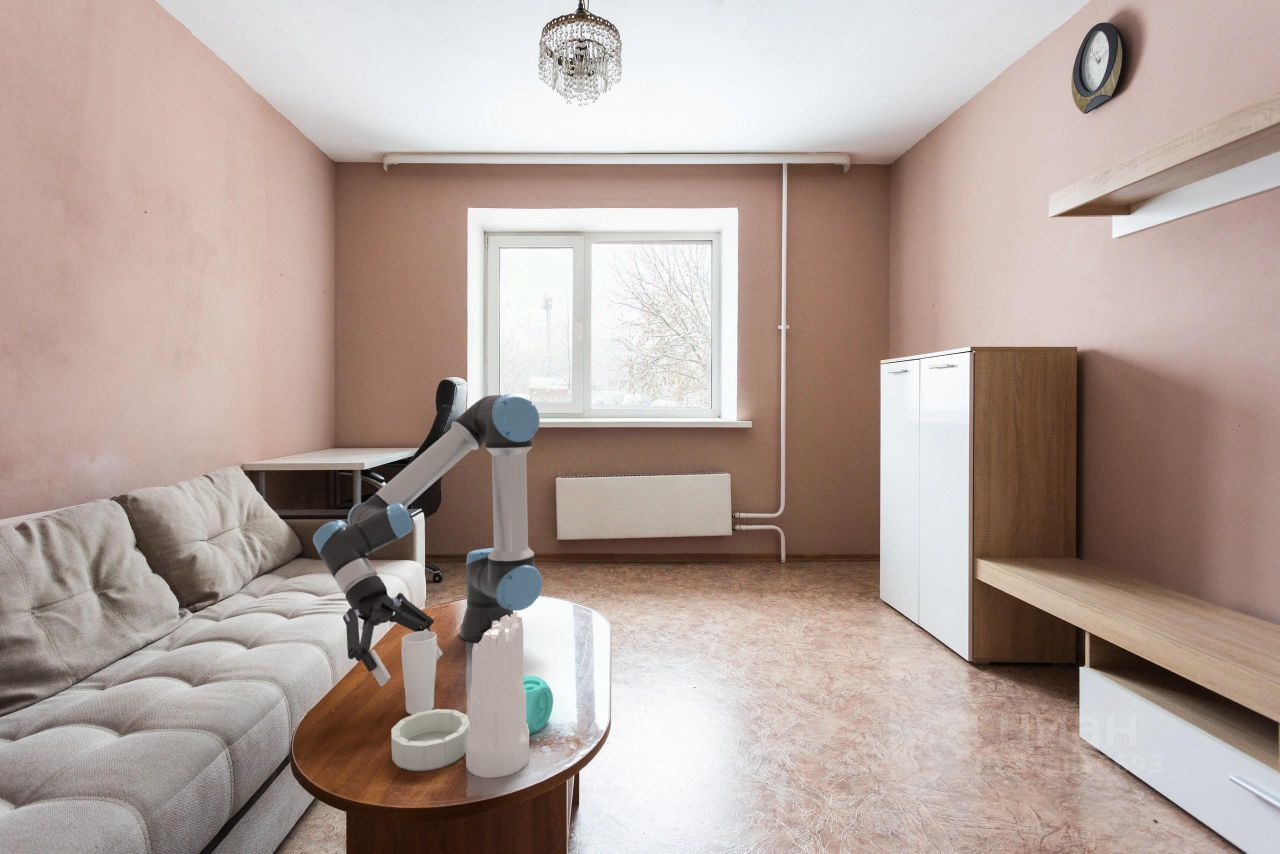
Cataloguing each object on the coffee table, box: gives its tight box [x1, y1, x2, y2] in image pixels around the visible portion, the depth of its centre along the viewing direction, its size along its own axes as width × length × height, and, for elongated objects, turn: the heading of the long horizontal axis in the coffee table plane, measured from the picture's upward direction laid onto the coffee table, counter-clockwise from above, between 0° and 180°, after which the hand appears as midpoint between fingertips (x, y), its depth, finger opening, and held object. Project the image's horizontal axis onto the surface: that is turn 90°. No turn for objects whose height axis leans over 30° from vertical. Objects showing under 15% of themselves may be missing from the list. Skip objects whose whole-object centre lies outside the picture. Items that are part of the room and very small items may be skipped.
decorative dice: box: [523, 675, 554, 735], centre depth 121 cm, size 8×8×8 cm
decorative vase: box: [465, 611, 530, 779], centre depth 109 cm, size 11×11×25 cm
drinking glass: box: [401, 631, 438, 716], centre depth 127 cm, size 7×7×15 cm
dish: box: [390, 708, 470, 772], centre depth 112 cm, size 13×13×4 cm
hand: (413, 669), depth 127 cm, fingers open, 13 cm apart
